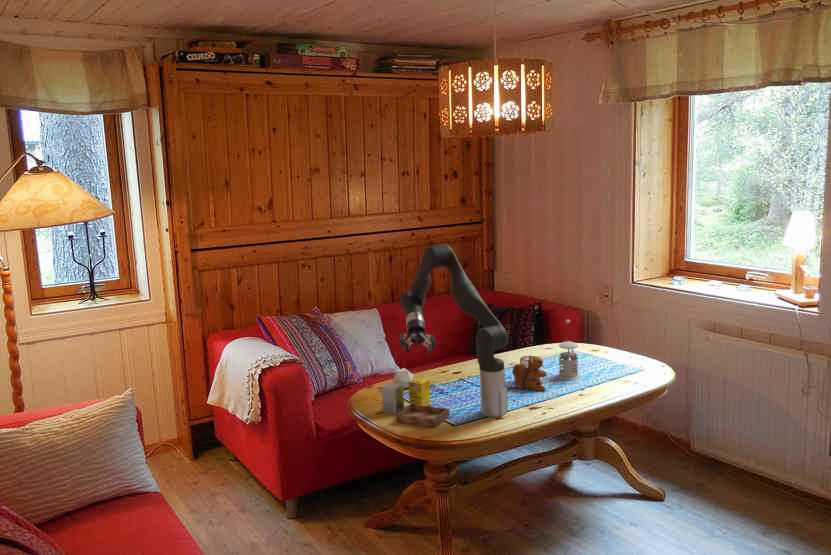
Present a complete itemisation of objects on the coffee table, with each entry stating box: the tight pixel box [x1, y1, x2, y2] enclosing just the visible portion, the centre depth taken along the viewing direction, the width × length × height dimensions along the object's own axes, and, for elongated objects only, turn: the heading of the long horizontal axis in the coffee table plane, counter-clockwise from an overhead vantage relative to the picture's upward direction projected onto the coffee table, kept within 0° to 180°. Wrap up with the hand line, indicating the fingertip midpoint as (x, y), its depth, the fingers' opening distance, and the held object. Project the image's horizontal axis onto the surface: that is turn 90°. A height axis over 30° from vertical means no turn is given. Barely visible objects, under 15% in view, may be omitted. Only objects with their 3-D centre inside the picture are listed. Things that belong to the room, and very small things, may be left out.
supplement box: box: [408, 377, 431, 406], centre depth 274 cm, size 6×6×11 cm
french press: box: [557, 319, 581, 381], centre depth 301 cm, size 10×12×25 cm
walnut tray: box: [395, 404, 450, 429], centre depth 262 cm, size 16×12×3 cm
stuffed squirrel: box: [511, 355, 548, 392], centre depth 290 cm, size 10×14×13 cm
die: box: [392, 367, 414, 390], centre depth 299 cm, size 8×9×10 cm
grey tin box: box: [381, 382, 405, 415], centre depth 272 cm, size 6×6×10 cm
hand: (418, 352), depth 279 cm, fingers open, 8 cm apart
